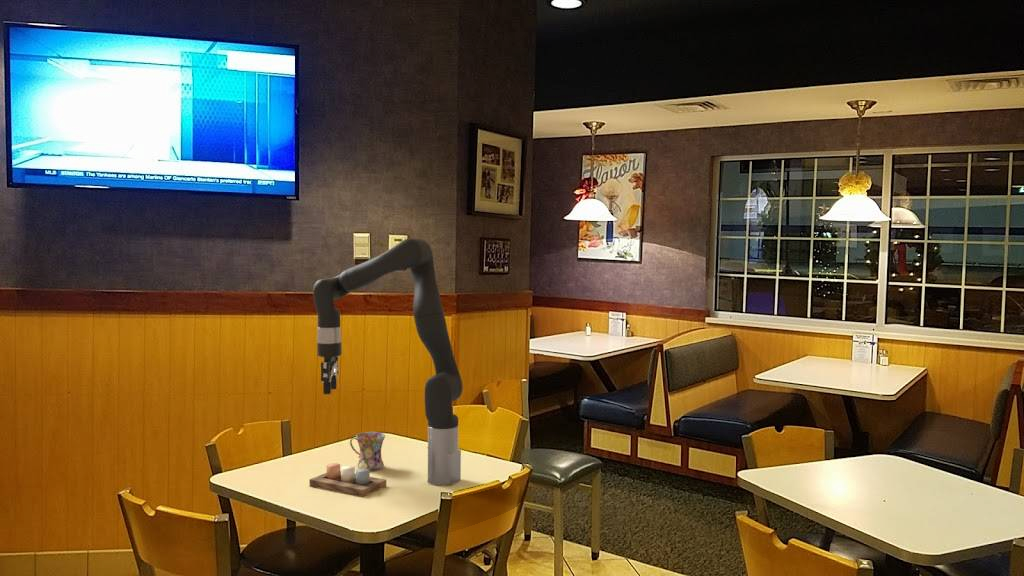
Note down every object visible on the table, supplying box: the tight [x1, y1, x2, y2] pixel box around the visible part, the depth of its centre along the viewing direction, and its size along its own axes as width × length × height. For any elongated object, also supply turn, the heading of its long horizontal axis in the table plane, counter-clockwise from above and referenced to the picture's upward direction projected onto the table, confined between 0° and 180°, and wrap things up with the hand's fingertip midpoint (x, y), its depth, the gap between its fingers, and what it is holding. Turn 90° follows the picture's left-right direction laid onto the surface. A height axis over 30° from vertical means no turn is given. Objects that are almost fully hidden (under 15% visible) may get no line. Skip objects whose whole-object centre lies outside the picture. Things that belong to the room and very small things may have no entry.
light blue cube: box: [355, 468, 371, 486], centre depth 234 cm, size 4×4×4 cm
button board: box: [308, 470, 387, 498], centre depth 237 cm, size 20×11×2 cm, turn 62°
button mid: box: [340, 465, 356, 483], centre depth 237 cm, size 4×4×4 cm
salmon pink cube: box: [326, 462, 341, 480], centre depth 239 cm, size 4×4×4 cm
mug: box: [349, 431, 386, 471], centre depth 256 cm, size 12×9×11 cm
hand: (330, 391), depth 254 cm, fingers open, 8 cm apart
